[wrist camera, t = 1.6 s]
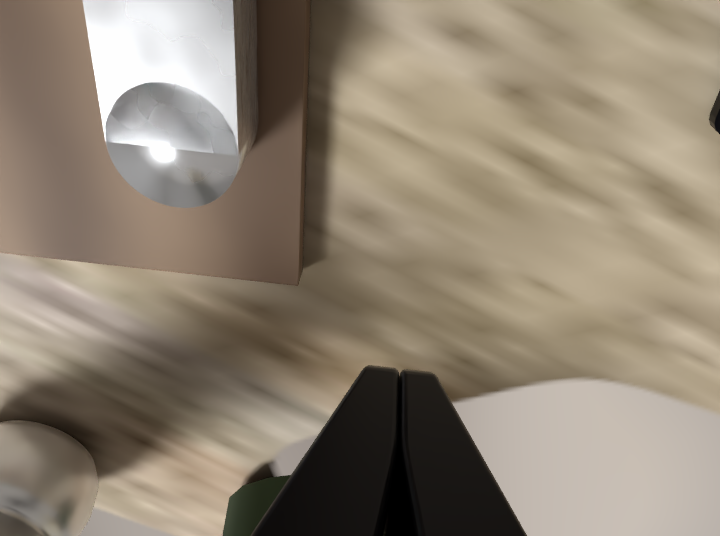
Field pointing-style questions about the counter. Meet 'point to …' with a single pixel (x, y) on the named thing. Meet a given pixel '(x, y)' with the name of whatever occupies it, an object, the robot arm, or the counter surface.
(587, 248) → the counter surface
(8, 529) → the plastic bottle
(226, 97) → the link
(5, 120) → the board
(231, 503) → the character mug
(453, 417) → the robot arm
